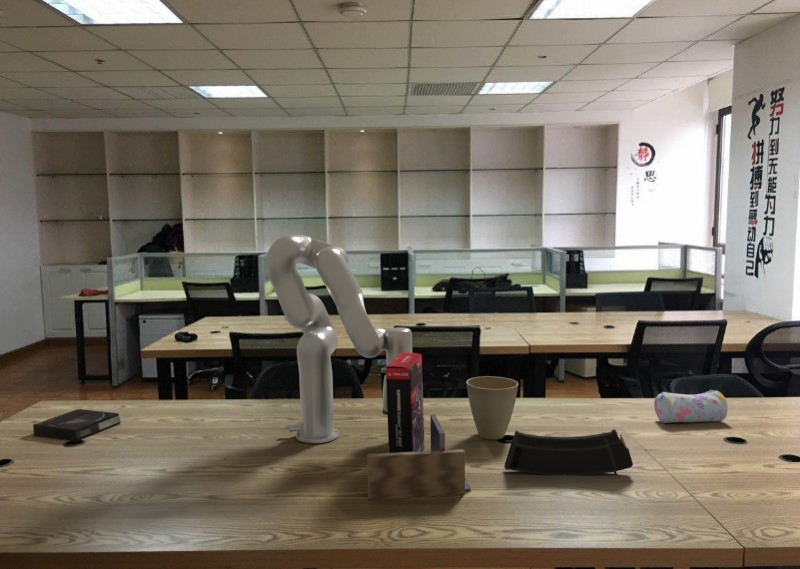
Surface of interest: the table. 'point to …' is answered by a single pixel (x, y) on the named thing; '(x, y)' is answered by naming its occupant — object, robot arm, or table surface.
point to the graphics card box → (405, 403)
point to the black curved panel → (568, 454)
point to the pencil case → (691, 407)
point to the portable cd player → (76, 425)
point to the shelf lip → (416, 474)
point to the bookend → (440, 440)
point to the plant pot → (492, 404)
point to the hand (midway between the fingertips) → (401, 432)
